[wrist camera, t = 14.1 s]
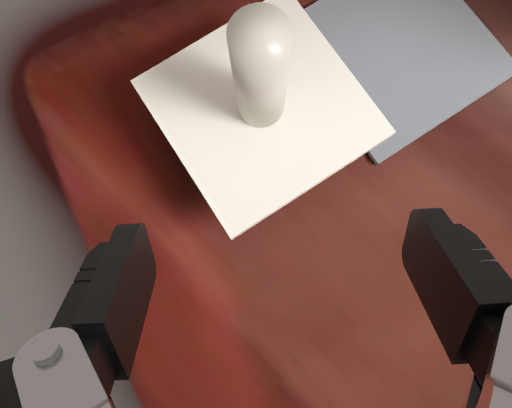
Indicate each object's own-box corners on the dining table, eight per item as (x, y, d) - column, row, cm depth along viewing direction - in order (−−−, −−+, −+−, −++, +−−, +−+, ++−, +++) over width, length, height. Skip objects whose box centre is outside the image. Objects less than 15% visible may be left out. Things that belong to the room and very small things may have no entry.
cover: (286, -6, 32) (297, -130, 22) (392, 135, 29) (458, 68, 19) (133, 85, 30) (71, -2, 21) (231, 239, 28) (215, 225, 18)
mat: (411, -53, 39) (414, -58, 38) (517, 72, 36) (522, 69, 36) (276, 29, 38) (276, 25, 37) (376, 165, 35) (378, 163, 34)
